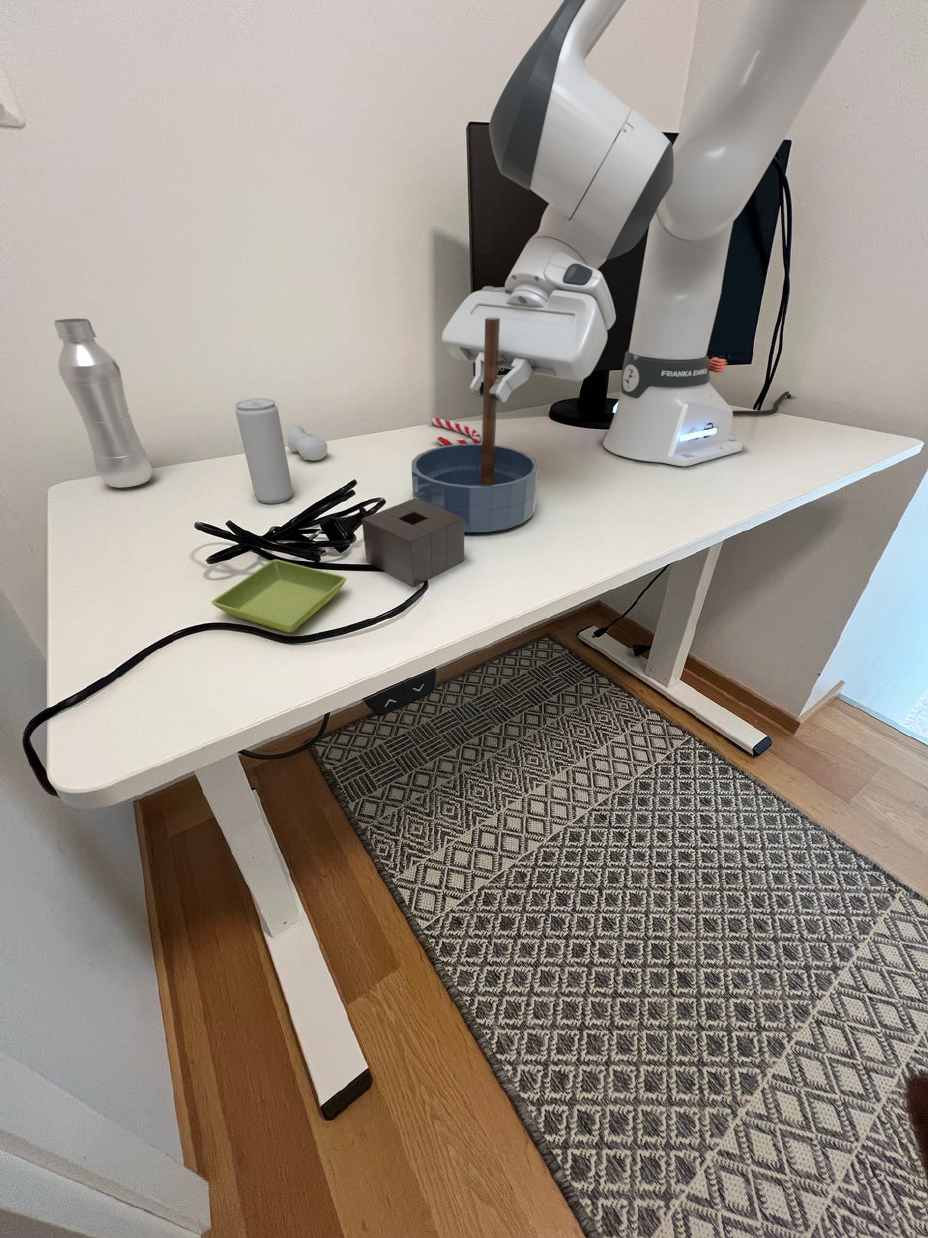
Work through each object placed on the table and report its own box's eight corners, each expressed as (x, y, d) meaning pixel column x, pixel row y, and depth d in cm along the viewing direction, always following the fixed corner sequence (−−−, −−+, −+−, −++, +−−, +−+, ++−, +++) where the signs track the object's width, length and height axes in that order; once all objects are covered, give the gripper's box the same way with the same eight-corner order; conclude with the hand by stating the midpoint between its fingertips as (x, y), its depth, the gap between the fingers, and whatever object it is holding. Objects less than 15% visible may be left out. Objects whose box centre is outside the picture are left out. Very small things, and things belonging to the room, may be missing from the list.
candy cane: (449, 414, 100) (490, 436, 89) (449, 421, 101) (490, 444, 90) (410, 420, 97) (448, 443, 86) (410, 427, 98) (448, 451, 87)
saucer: (350, 595, 52) (348, 576, 51) (294, 646, 46) (289, 626, 45) (278, 576, 55) (274, 558, 54) (214, 621, 49) (208, 602, 47)
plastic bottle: (129, 473, 78) (72, 315, 67) (167, 479, 77) (116, 318, 65) (92, 489, 73) (23, 322, 62) (132, 496, 72) (69, 325, 60)
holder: (417, 538, 62) (415, 497, 59) (464, 560, 58) (464, 517, 55) (366, 561, 58) (361, 518, 55) (413, 587, 54) (411, 542, 51)
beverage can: (257, 507, 69) (234, 409, 62) (254, 493, 73) (232, 399, 66) (296, 501, 70) (278, 405, 63) (291, 488, 74) (274, 396, 67)
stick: (489, 491, 71) (496, 316, 59) (495, 496, 69) (502, 318, 58) (478, 493, 70) (482, 317, 58) (483, 498, 69) (488, 319, 57)
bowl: (502, 480, 77) (504, 438, 73) (556, 524, 65) (561, 476, 62) (399, 496, 72) (396, 451, 69) (437, 546, 61) (436, 495, 57)
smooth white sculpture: (332, 468, 84) (300, 464, 81) (312, 452, 89) (281, 448, 86) (336, 440, 82) (304, 435, 79) (316, 426, 87) (285, 421, 84)
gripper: (465, 265, 65) (409, 364, 65) (615, 273, 54) (549, 393, 54) (488, 305, 71) (436, 397, 71) (629, 320, 60) (568, 429, 59)
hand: (486, 396), depth 62 cm, fingers closed on stick, 1 cm apart
